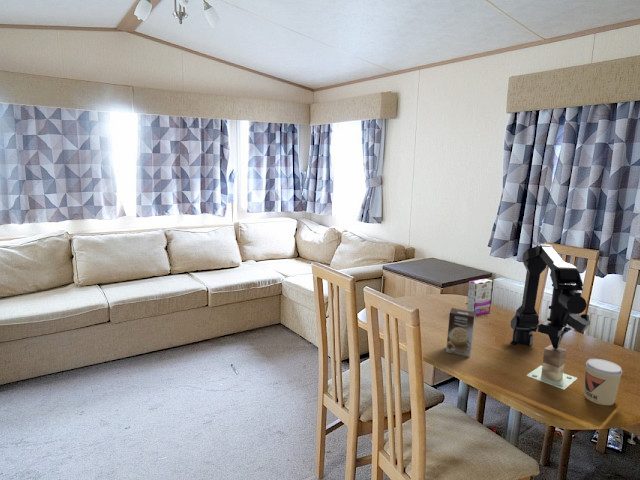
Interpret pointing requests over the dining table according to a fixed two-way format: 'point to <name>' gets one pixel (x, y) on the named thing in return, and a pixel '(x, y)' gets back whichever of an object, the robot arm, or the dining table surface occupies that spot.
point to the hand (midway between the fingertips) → (555, 348)
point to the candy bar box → (479, 296)
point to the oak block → (552, 372)
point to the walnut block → (554, 356)
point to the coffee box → (460, 332)
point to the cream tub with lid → (602, 381)
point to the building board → (562, 383)
